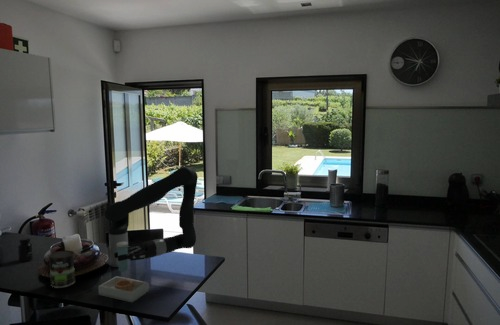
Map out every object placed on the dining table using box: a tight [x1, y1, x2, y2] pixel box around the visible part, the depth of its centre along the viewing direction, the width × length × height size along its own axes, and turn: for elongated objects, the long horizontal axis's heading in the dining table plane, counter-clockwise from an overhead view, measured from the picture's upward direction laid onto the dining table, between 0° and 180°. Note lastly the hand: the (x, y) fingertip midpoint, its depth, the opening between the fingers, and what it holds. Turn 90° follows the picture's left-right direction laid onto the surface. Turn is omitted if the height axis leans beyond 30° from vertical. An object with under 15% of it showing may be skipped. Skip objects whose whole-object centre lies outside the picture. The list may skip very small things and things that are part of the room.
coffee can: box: [48, 250, 76, 289], centre depth 167 cm, size 10×10×14 cm
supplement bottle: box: [17, 237, 34, 263], centre depth 195 cm, size 7×7×12 cm
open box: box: [98, 275, 150, 303], centre depth 158 cm, size 18×11×4 cm, turn 68°
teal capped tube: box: [116, 241, 129, 273], centre depth 156 cm, size 5×5×12 cm
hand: (116, 257), depth 154 cm, fingers closed on teal capped tube, 4 cm apart
